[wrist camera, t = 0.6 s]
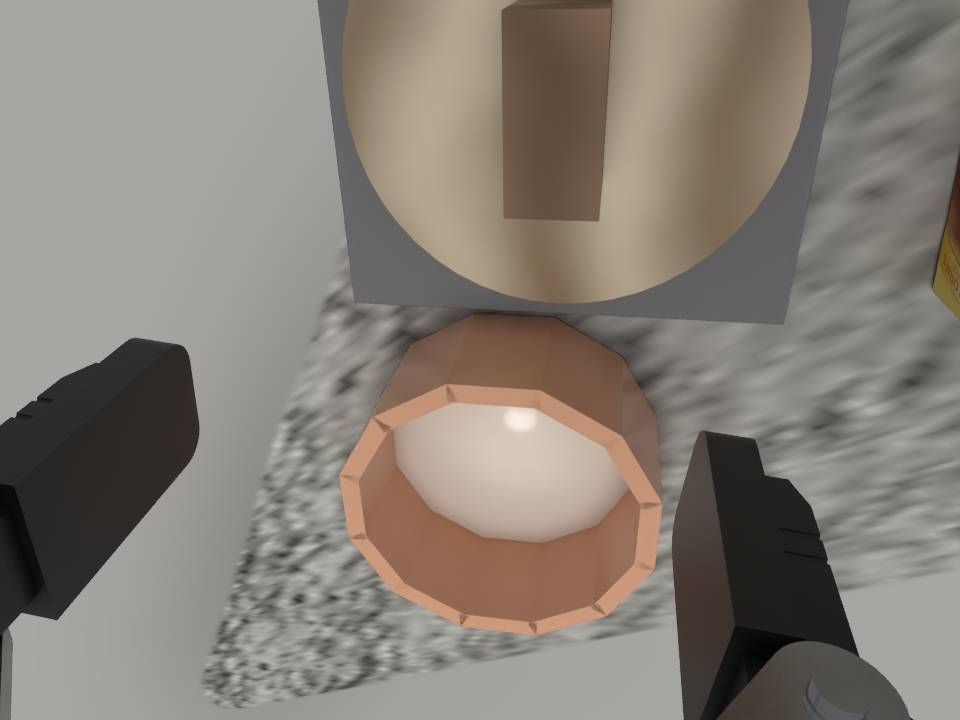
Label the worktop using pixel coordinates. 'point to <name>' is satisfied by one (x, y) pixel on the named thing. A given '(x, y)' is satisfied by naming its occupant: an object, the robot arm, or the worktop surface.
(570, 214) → the lid
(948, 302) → the candy box
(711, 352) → the worktop surface
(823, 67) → the mat
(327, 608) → the worktop surface
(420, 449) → the bowl
